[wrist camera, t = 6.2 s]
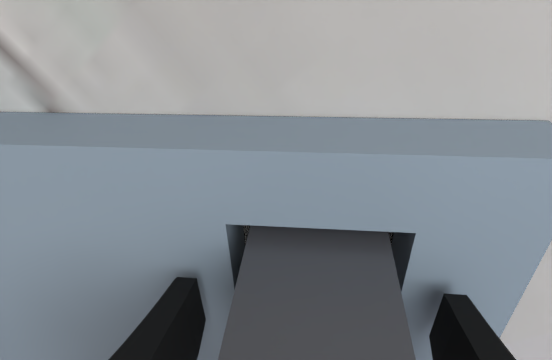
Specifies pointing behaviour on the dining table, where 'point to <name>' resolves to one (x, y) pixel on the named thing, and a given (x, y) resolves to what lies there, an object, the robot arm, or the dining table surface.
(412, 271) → the socket plate
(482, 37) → the dining table surface
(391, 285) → the block
